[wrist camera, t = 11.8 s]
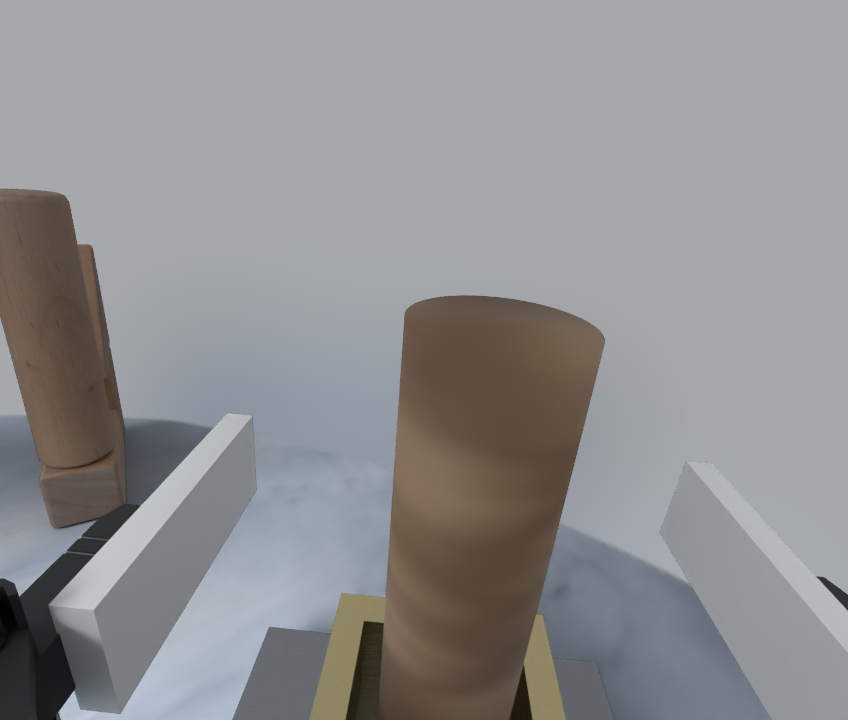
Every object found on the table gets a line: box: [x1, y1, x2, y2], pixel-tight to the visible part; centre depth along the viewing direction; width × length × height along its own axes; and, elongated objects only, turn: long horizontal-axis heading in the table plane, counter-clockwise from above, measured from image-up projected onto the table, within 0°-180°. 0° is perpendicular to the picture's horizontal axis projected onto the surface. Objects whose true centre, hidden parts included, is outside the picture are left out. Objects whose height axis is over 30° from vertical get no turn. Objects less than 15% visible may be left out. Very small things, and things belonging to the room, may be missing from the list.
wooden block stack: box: [0, 189, 126, 528], centre depth 27 cm, size 4×11×18 cm, turn 32°
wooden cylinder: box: [377, 296, 605, 720], centre depth 11 cm, size 4×4×16 cm
